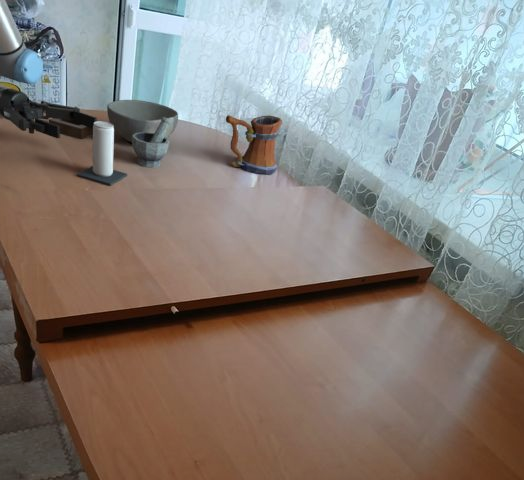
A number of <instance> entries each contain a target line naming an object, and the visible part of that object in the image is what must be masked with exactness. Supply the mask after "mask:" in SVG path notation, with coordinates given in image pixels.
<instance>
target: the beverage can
mask: <svg viewBox="0 0 524 480" xmlns="http://www.w3.org/2000/svg"><path fill="white" fill-rule="evenodd" d="M114 142H115V130H114V128H113V124H111V123H110V122H107V121H103V120H102V121H101V120H99V121H98V120H97V122H94V125H93V135H92V166H93V172H94V173H95V174H96V175H98V176H102V177H108V176H111V175H112V173H113V170H114V147H115V146H114V145H115V143H114Z"/></svg>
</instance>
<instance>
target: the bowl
mask: <svg viewBox="0 0 524 480" xmlns="http://www.w3.org/2000/svg"><path fill="white" fill-rule="evenodd" d="M106 110H107V118H108V121H109V123H111V124H113V128H114V132H115V133H116V134H118V135H119V136H120V137H122V138H123V139H124V140H126V141H127V142H131V143H132V136H133V135H134V134H135V133H140V132H147V133H155V132H156V130H157V128H158V126H159V124H160V122H161V118H162V117H165V118H167V119H169V120H170V121H171V124H170V125H169V126H168V129H167V131H166V134H165V137H166V138H167V139H169V137H170V136H171V135H172V134H173V133H174V132H175V129H176V128H177V125H178V122H179V121H178V120H179V113H178V111H177V110H175V109H173V108H171V107H169V106H166V105H164V104H160V103H156V102H152V101H148V100H147V101H146V100H139V99H120V100H114V101H112V102H109V103H108V104H107V105H106Z"/></svg>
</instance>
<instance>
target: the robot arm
mask: <svg viewBox="0 0 524 480" xmlns="http://www.w3.org/2000/svg"><path fill="white" fill-rule="evenodd" d="M42 59H43V58H42V57H41V56H40V54H38V53H37V52H36V51H34V50H33V49H32V48H31V49H30V48H28V47H27V46H26V44H25V42H24V40H23V38H22V34H21V33H20V30H19V28H18V25H17V24H16V21H15V20H14V16H13V14H12V12H11V10H10V8H9V5H8V3H7V1H6V0H0V77H4V78H6V79H10V80H12V81H15V82H17V83H23V84H27V85H35V84H37V83H38V82H39V81H40V80H41V79H42V76H43V73H44V63H43V60H42ZM44 114H45V115H44ZM52 118H56V119H65V120H74V122H75V123H78V124H81V125H84V126H87V127H90V128H93V125H94V122H97V121H98V120H97V119H98V118H97V117H96V116H93V115H89V114H88V113H84V112H81V108H79V107H77V106H74V107H73V106H68V105H64V104H57V103H53V102H52V103H51V102H48V101H45V100H40V103H39V102H37V101H32V100H31V99H30V98H29V96H28V95H27V94H26V93H25V92H23V91H20V90H17V89H14V88H12V87H10V86H6V85H3V84H0V119H1V120H3V119H5V120H8V121H10V122H11V123H12V124H13V125H15V127H17V128H18V129H19V130H20V131H23V132H26V131H27V130H28V133H29V134H32V135H34V134H35V131H36V132H38V133H40V134H44V135H46V136H49V137H53V138H55V139H60V138H61V133H60V126H58V125H55V124H52V123H49V121H47V120H49V119H52Z"/></svg>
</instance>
